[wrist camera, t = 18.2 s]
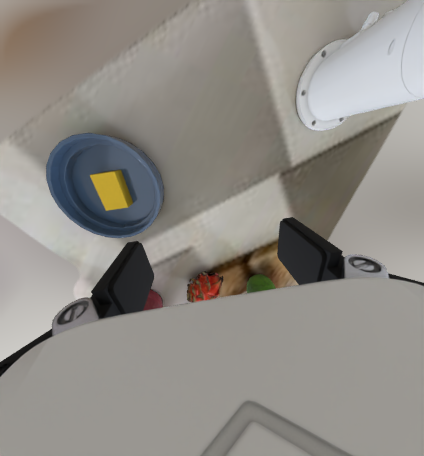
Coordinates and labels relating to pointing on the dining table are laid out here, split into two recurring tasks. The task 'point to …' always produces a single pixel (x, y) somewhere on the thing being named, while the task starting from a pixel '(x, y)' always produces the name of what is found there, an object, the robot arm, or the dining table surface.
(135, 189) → the bowl
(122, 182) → the sponge
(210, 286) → the dragon fruit
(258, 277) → the avocado
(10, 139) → the dining table surface
